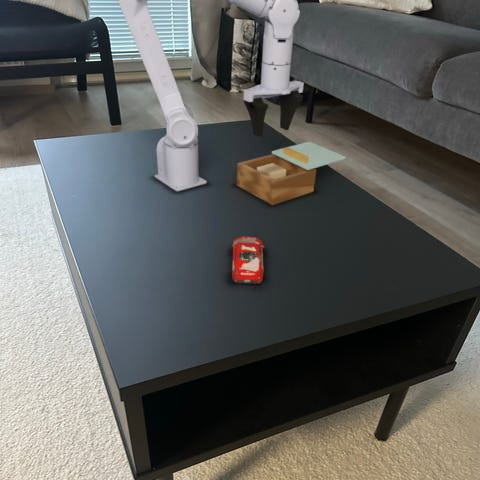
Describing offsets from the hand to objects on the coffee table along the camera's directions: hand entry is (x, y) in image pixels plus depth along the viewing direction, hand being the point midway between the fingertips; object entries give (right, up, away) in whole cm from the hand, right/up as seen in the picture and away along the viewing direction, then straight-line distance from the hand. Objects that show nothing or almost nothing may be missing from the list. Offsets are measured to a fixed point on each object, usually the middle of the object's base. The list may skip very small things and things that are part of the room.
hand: (271, 131), depth 108 cm
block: (0, -12, +1) cm, 12 cm away
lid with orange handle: (+8, -4, +4) cm, 10 cm away
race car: (-5, -32, -23) cm, 39 cm away
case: (+1, -12, +2) cm, 12 cm away
